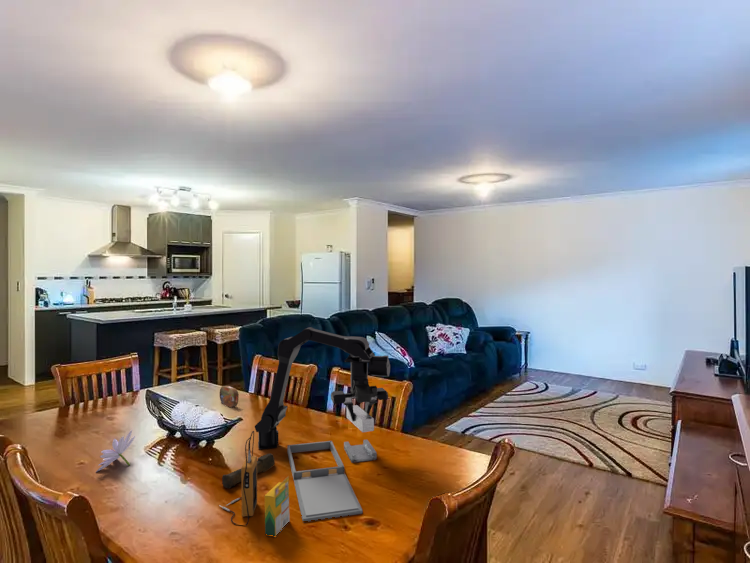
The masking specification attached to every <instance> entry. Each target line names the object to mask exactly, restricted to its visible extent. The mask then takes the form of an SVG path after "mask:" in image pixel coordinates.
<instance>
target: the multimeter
mask: <svg viewBox="0 0 750 563" xmlns="http://www.w3.org/2000/svg"><path fill="white" fill-rule="evenodd" d="M251 439H252V448H251ZM254 441H255V431H254V430H253V431H251V434H250V437H248V439H246V442H245V444H244V447H245V448H244V450H245V452H244V453H245V459H244V462H243V463H242V466H241V467H240V469H241V497H238V498H237V497H236V499H233V500H231V501H230V502H229V503H228V504H226V506H229V505H230V504H234V503H235V502H237V501H239V500H241V517H247V522H246V524H245V525H246V526H248V524H249V521H250V517H253V516H254V514H255V510H256V507H257V504H258V473H257V461H258V456H256V455H253V454H254V444H255V442H254ZM247 443H248V444H247ZM247 445H248V453H247ZM218 506H219V507H221V508H222V510H225V511H227V512H231V513H232V514H233V515H232V516H231V517H230V521H231V523H232V522H233V523H234V524H233V523H232V524H233V525H235V524H237V523H235V522H234V521H233V518H234V516H235V514H236V513H235V512H234V511H233V510H231V509H230V508H227V507H225V506H222V505H220V504H219V505H218Z"/></svg>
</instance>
